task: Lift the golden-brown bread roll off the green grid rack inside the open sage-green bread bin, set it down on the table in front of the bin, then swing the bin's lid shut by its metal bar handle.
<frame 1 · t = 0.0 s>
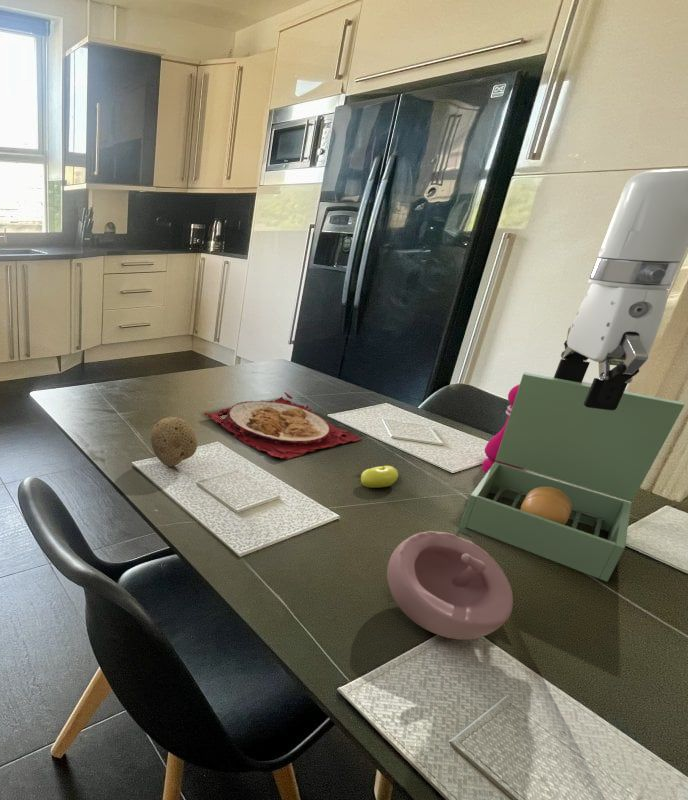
hand: (581, 396, 69), 23 cm above the table, tool pointing down, fingers open, 9 cm apart
lid: (580, 428, 75), point 16 cm above the table, hinge at 74.6°, touching gripper
bread bin: (534, 535, 76), on the table
yellow oval piece: (377, 486, 90), on the table
bread roll: (539, 522, 74), point 3 cm above the table, touching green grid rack
pepper mill: (500, 474, 95), on the table
plate with food: (279, 429, 113), on the table
natural sponge: (171, 465, 96), on the table
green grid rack: (539, 523, 76), in the bread bin, point 2 cm above the table
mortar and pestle: (432, 622, 60), on the table
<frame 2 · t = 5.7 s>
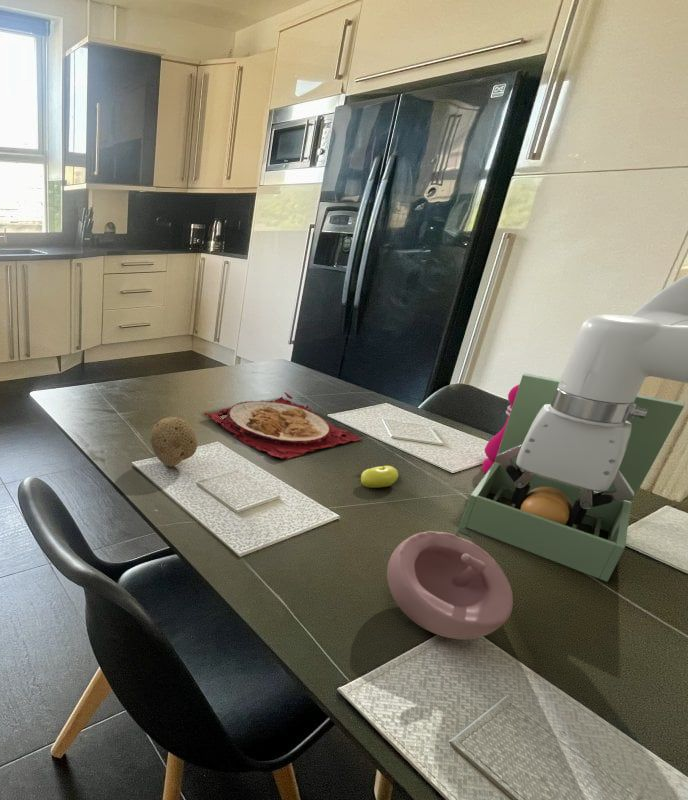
hand: (542, 516, 73), 5 cm above the table, tool pointing down, fingers closed on bread roll, 5 cm apart
lid: (580, 428, 75), point 16 cm above the table, hinge at 73.7°
bread roll: (539, 522, 74), point 4 cm above the table, touching gripper, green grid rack
everything else where it was.
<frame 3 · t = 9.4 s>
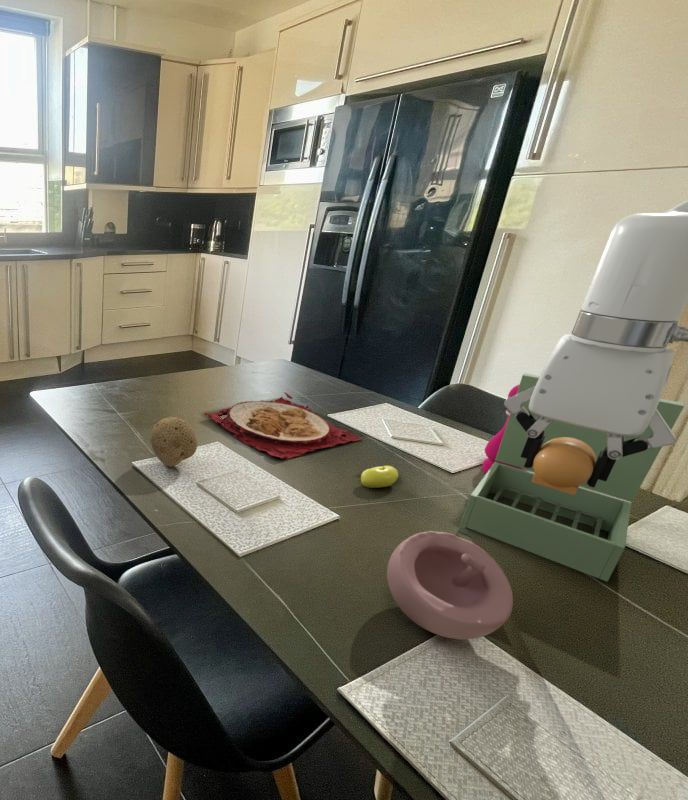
hand: (559, 472, 61), 17 cm above the table, tool pointing down, fingers closed on bread roll, 5 cm apart
bread roll: (556, 480, 61), point 16 cm above the table, touching gripper
everything else where it was.
when the fingers open (1 cm above the table, at t = 13.3 s): bread roll stays where it is, on the table.
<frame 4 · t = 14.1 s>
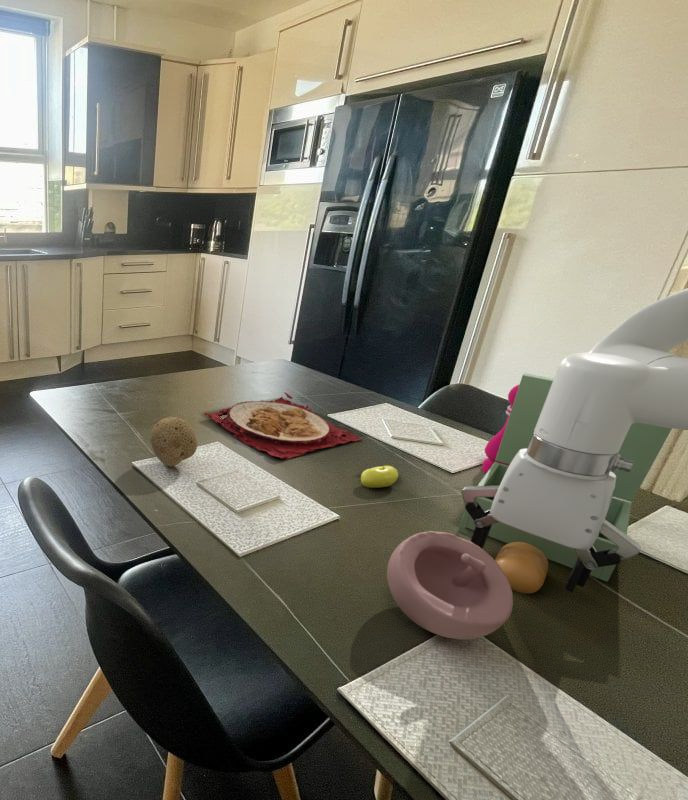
hand: (521, 566, 65), 3 cm above the table, tool pointing down, fingers open, 9 cm apart
bread roll: (513, 582, 66), on the table
everything else where it was.
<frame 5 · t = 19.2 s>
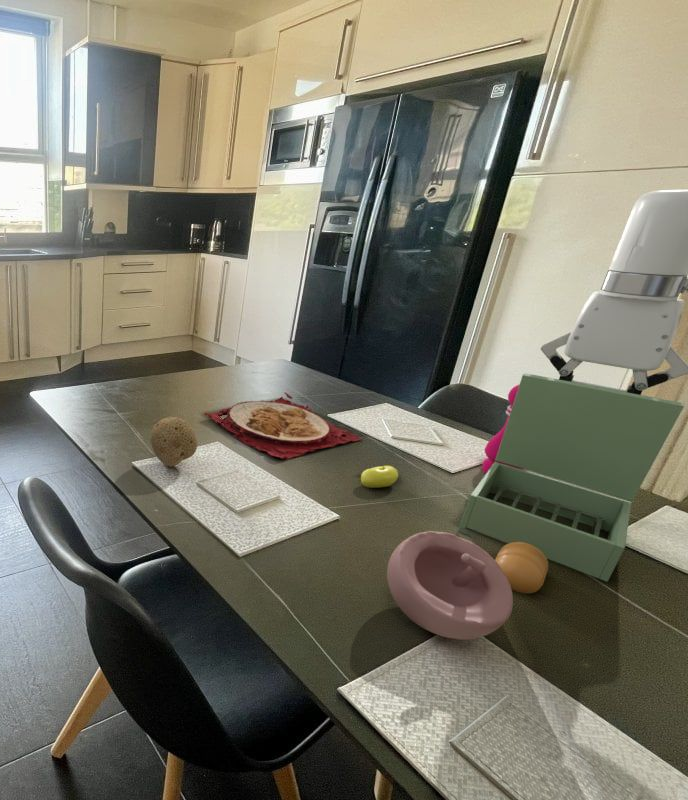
hand: (590, 404, 74), 20 cm above the table, tool pointing down, fingers closed on lid, 6 cm apart
lid: (580, 428, 75), point 16 cm above the table, hinge at 73.7°, touching gripper
everything else where it was.
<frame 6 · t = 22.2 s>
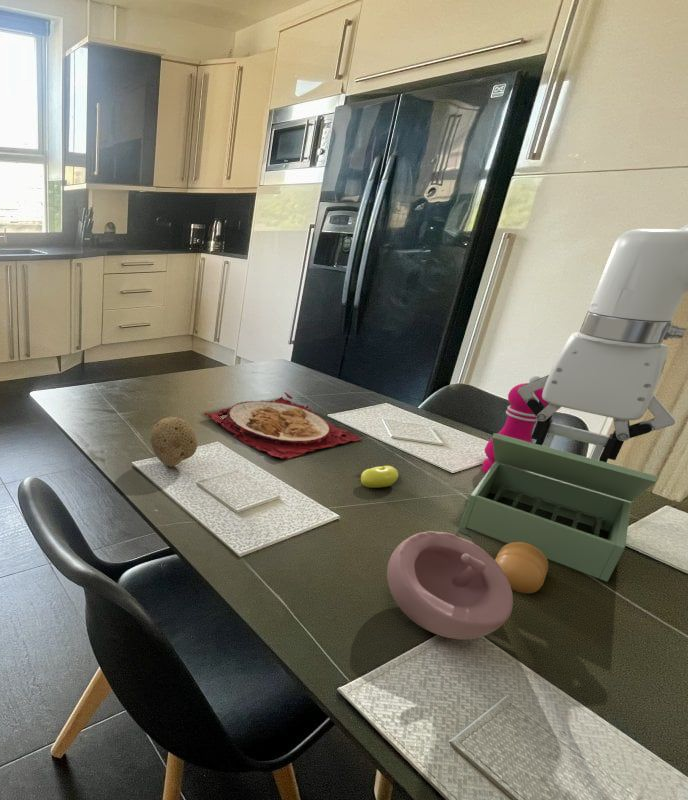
hand: (569, 452, 69), 15 cm above the table, tool pointing down, fingers closed on lid, 6 cm apart
lid: (568, 454, 73), point 14 cm above the table, hinge at 31.7°, touching gripper
everything else where it was.
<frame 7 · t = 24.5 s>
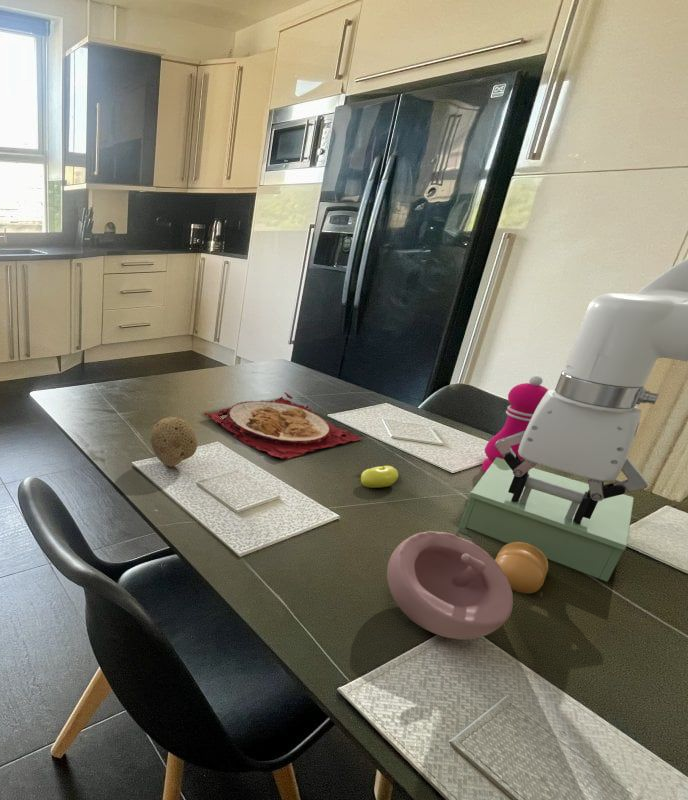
hand: (545, 507, 69), 8 cm above the table, tool pointing down, fingers closed on lid, 6 cm apart
lid: (556, 484, 73), point 9 cm above the table, hinge at -0.2°, touching bread bin, gripper
everything else where it was.
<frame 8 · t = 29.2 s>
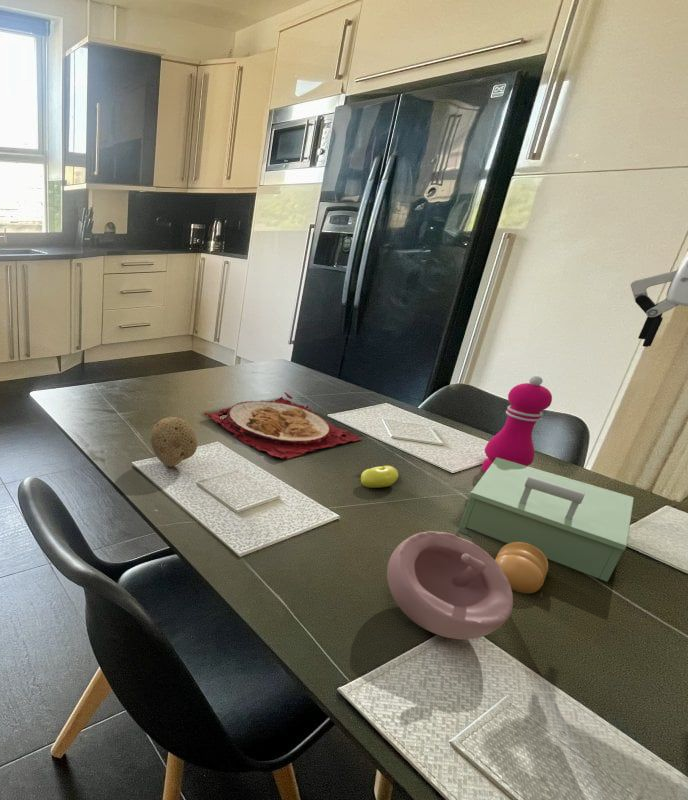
lid: (556, 484, 73), point 9 cm above the table, hinge at -0.2°, touching bread bin
everything else where it was.
at the end: bread roll inside the target area (0.1 cm from its centre), on the table; the gripper is holding nothing; lid at +0° (first picture: +75°) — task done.
